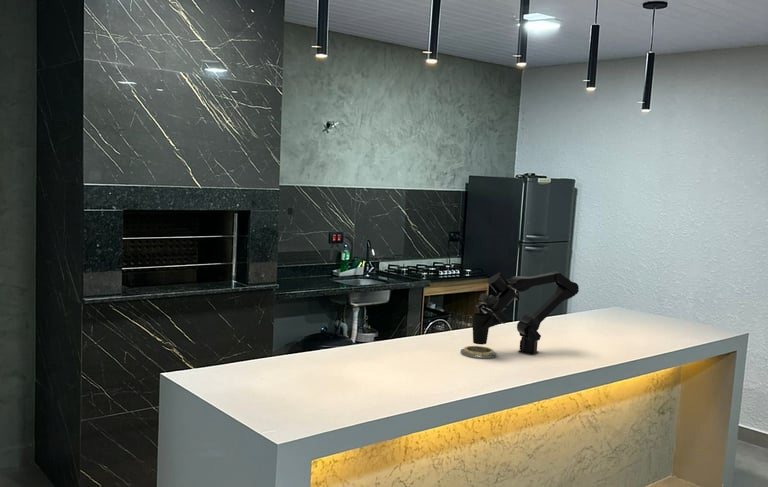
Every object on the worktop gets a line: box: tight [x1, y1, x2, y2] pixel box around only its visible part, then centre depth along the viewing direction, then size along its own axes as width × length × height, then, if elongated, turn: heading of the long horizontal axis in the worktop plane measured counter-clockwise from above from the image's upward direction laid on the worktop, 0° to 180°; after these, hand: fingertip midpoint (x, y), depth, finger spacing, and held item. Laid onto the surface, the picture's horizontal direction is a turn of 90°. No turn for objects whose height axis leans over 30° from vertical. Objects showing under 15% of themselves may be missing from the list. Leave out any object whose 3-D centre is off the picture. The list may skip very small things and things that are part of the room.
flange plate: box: [460, 345, 497, 360], centre depth 287 cm, size 15×15×2 cm
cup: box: [471, 312, 490, 346], centre depth 287 cm, size 8×8×12 cm
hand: (477, 327), depth 286 cm, fingers closed on cup, 8 cm apart
